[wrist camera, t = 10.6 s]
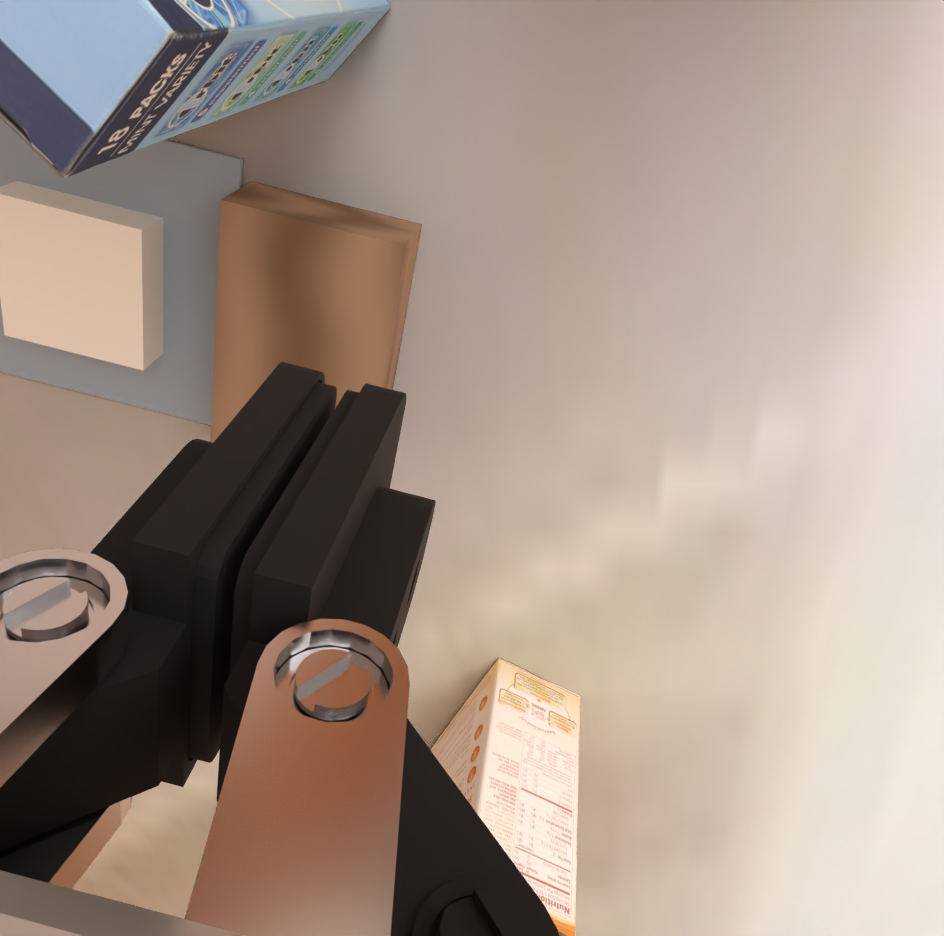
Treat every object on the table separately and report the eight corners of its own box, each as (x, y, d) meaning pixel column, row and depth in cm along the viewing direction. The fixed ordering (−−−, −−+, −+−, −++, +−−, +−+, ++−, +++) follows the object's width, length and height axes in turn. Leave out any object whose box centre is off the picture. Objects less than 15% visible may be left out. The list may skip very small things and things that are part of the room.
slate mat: (243, 158, 41) (240, 160, 40) (228, 427, 49) (226, 429, 49) (-44, 86, 41) (-48, 87, 41) (-9, 367, 49) (-12, 369, 49)
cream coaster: (-12, 191, 41) (17, 180, 43) (4, 335, 45) (30, 319, 47) (141, 229, 41) (163, 217, 43) (143, 370, 45) (163, 353, 47)
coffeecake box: (490, 805, 65) (452, 1088, 48) (411, 770, 64) (344, 1046, 47) (586, 695, 57) (580, 989, 40) (497, 654, 56) (454, 936, 40)
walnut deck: (421, 224, 41) (405, 246, 38) (381, 452, 49) (365, 487, 45) (251, 181, 41) (220, 199, 38) (237, 415, 49) (210, 448, 45)
